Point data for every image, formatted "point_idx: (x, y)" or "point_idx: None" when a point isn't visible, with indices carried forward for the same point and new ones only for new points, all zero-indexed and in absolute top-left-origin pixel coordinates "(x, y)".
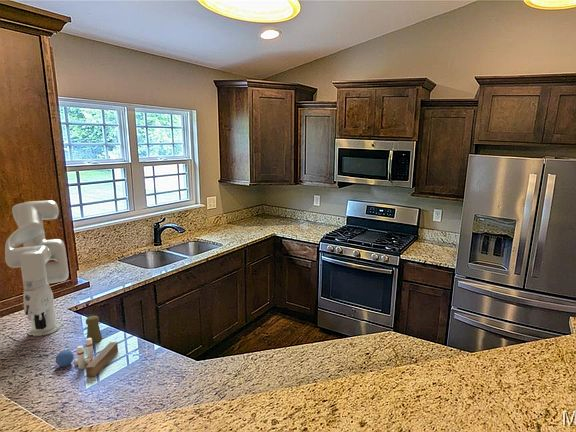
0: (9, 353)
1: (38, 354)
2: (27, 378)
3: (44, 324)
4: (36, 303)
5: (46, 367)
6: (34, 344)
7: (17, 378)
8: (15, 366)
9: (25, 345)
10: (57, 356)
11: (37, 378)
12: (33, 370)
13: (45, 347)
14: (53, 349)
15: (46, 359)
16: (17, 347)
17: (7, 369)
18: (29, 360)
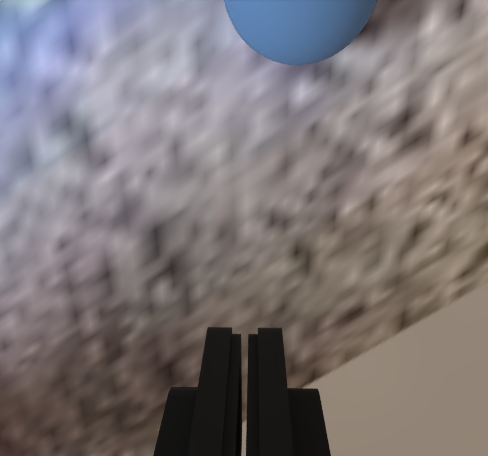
0: None
1: (153, 294)
2: (451, 179)
3: (237, 374)
4: None
5: (317, 134)
6: (44, 387)
7: (440, 243)
8: (297, 338)
9: (65, 424)
10: (356, 19)
11: (464, 106)
12: (352, 202)
13: (64, 305)
14: (78, 238)
15: (211, 203)
16: (94, 448)
17: (328, 359)
18: (228, 303)
